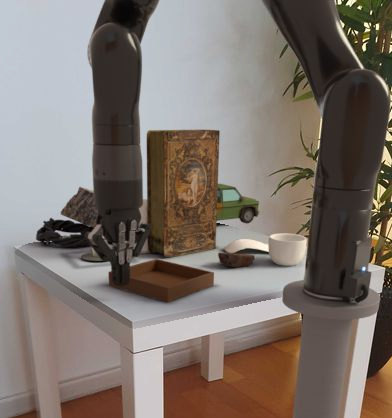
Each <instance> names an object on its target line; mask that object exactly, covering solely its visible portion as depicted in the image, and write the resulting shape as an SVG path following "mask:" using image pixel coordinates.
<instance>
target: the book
mask: <svg viewBox="0 0 392 418" xmlns="http://www.w3.org/2000/svg"><path fill="white" fill-rule="evenodd" d="M220 135H221V133H220V130H219V129H153V130H152V129H150V130H149V129H148V130H147V132H146V199H147V224H150V225H151V226H152V228H151V231H150V233H149V235H148V250H149V253H151V254H160V255H163V257H164V258H174V257H179V256H184V255H189V254H193V253H199V252H204V251H208V250H215V249H216V248H217V247H216V246H217V222H218V221H217V193H218V184H219V159H220Z"/></svg>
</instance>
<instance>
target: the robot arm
mask: <svg viewBox="0 0 392 418" xmlns="http://www.w3.org/2000/svg"><path fill="white" fill-rule="evenodd" d="M159 2H160V0H104V1H103V3H102V6H101V8H100V11H99V14H98V16H97V18H96V21H95V23H94V27H93V29H92V33H91V35H90V38H89V40H88V43H87V44H88V45H87V51H86V52H87V54H86V56H87V61H88V64H89V67H90V68H91V75H92V76H91V77H92V93H93V105H92V109H91V132H92V154H91V155H92V156H91V168H92V186H93V187H92V188H93V189H92V190H93V191H94V204H95V206H96V208H97V210H98V214H97V218H96V227H95V228H94V229H93V231H92V232H86V233H85V239H86V240H87V241H88V243H89V244H90V245H89V246H90V247H91V249H92V248H93V249H94V251H95V252H96V253H97V255H98V256H99V257H100V259H101V260H104V261H103V262H108V263H110V269H111V270H110V271H111V273H112V281H113V283H114V284H115V285H117V286H120V287H122V286H125V285H128V284H129V280H130V266H131V262H132V261H133V259H134V258H138V257H139V256H140V254H141V253H140V252H141V250H142V248H143V246H144V244H145V242H146V239H147V237H148V235H149V233H150V231H151V228H152V226H151V225H150V224H147V223H145V222H144V221H143V220H142V219H141V213H140V210H139V208H140V207H142V205H143V199H144V188H143V187H144V182H143V181H144V177H143V156H142V149H141V122H140V121H141V119H140V99H141V90H142V89H141V88H142V76H143V53H142V52H143V51H142V46H141V44H142V41H143V38H144V35H145V32H146V29H147V25H148V23H149V21H150V18H151V17H152V16H153V14H154V12H155V11H156V9H157V7H158V4H159ZM260 3H262V5H263V7H264V8H265V10H266V12H267V14H268V15H269V17H270V19H271V21H272V22H273V24H274V26H275V27H276V29H277V30H278V32H279V33H280V35H281V36H282V38H283V39H284V41H285V43H286V44H287V45H288V47H289V48H290V49H291V52H292V53H293V54H294V56H295V58H296V59H297V61H298V63H299V66H300V67H301V69H302V71H303V73H304V76H305V78H306V80H307V83H308V86H309V88H310V90H311V93H312V95H313V98H314V100H315V103H316V107H317V109H318V112H319V115H320V118H321V125H320V135H319V145H318V154H317V159H316V164H315V168H314V176H313V188H312V195H311V196H312V197H311V207H310V217H309V226H308V236H307V244H306V255H305V267H304V274H303V275H304V276H303V280H304V285H303V289H302V291H303V293H304V294H306V295H308V296H310V297H313V298H316V299H320V300H326V301H341V302H347V303H350V302H352V301H353V300H355V301H356V302H357V303H359V302H361V301H363V300H365V299H366V298H367V296H368V294H369V288H370V286H371V285H370V284H371V278H372V274H373V273H372V271H369V265H370V258H371V250H372V245H373V237H371V236H369V233H370V226H371V219H372V212H373V211H372V210H373V205H374V197H375V190H376V184H377V179H378V175H379V172H380V170H381V166H382V162H383V157H384V152H385V151H384V150H385V145H386V139H387V133H388V128H389V122H390V114H391V102H392V101H391V92H390V89H389V85H388V83H387V82H386V81H385V79H384V78H383V77H382V76H381V75H380V74H379V73H377V72H376V71H374V70H371V69H367V68H365V66H364V64H363V63H362V61H361V60H360V58H359V56H358V55H357V53H356V51H355V49H354V48H353V46H352V44H351V42H350V41H349V39H348V37H347V35H346V32H345V30H344V27H343V24H342V22H341V19H340V16H339V15H340V14H339V11H338V8H337V4H336V0H260ZM104 240H105V241H104ZM125 241H127V242H125ZM136 243H137V244H136ZM135 244H136V246H135ZM134 247H135V248H134ZM133 248H134V249H133Z"/></svg>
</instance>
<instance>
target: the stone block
mask: <svg viewBox="0 0 392 418" xmlns="http://www.w3.org/2000/svg"><path fill="white" fill-rule="evenodd" d="M97 214H98V210H97V208H96V206H95V204H94V189H89V188H87V187H86V188H85V187H82V186H79V187H78V189H77V192H76V193H75V194H74V195H72V197H71V198H69V200H68V201H67V202H66V204H65V206H63V208H62V210H61V211H60V215H61V216H63V217H66V218H67V219H68V218H69V220H70V219H71V220H72V221H75V222H77V223H81V224H85V225H87V226H89V227H93V228H95V227H96V218H97Z"/></svg>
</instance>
